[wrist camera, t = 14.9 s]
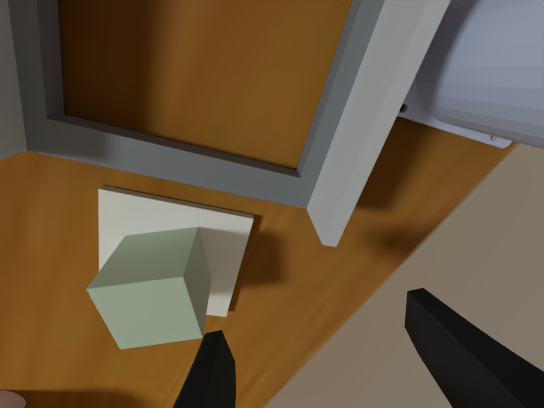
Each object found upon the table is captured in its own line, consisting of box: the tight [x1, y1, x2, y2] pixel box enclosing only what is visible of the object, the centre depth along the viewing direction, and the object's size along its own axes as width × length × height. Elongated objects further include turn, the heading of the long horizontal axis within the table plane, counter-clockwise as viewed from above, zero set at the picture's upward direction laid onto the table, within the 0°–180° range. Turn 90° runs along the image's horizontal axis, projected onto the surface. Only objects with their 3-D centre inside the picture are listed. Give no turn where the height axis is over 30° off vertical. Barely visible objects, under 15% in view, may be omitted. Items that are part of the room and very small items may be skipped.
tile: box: [98, 185, 254, 317], centre depth 20 cm, size 10×10×1 cm
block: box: [87, 227, 212, 349], centre depth 17 cm, size 5×5×5 cm
